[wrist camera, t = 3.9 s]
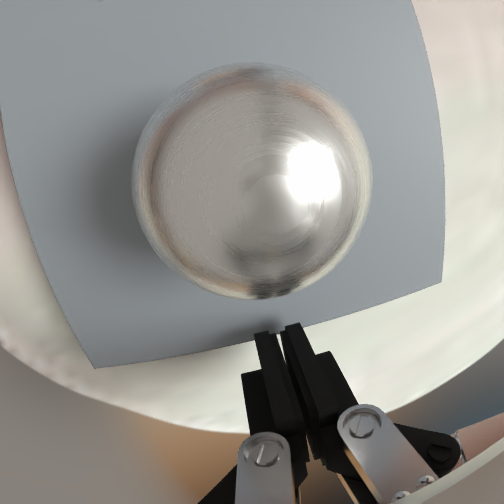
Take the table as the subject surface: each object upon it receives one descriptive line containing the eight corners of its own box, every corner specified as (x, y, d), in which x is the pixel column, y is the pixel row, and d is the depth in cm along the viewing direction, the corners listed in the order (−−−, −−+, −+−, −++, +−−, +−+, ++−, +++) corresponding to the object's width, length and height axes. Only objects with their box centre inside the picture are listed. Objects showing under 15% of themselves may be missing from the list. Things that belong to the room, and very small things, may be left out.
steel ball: (138, 108, 8) (60, 80, 3) (306, 74, 8) (399, 24, 3) (180, 265, 10) (159, 378, 5) (332, 229, 10) (422, 307, 5)
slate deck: (31, -67, 4) (16, -81, 2) (320, -122, 5) (332, -141, 3) (105, 340, 12) (94, 368, 11) (416, 264, 13) (441, 282, 11)
